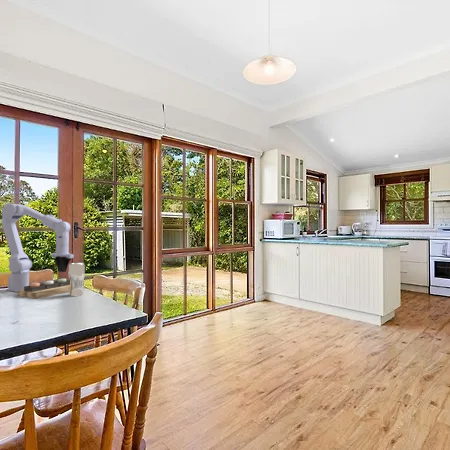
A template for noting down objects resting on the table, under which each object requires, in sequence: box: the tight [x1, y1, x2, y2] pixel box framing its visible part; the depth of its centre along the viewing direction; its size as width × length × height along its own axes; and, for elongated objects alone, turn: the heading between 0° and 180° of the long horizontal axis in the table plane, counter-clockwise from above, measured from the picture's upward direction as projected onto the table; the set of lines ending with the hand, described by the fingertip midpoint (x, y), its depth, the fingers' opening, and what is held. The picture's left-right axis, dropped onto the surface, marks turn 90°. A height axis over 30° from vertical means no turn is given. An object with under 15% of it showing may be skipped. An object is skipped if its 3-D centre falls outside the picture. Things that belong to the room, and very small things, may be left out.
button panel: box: [17, 279, 70, 299], centre depth 151 cm, size 14×21×4 cm, turn 154°
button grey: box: [43, 280, 54, 285], centre depth 152 cm, size 4×4×2 cm
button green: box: [57, 278, 67, 282], centre depth 158 cm, size 4×4×2 cm
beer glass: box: [68, 262, 86, 297], centre depth 147 cm, size 7×7×15 cm
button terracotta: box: [29, 282, 41, 287], centre depth 145 cm, size 4×4×2 cm
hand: (62, 271), depth 158 cm, fingers closed
